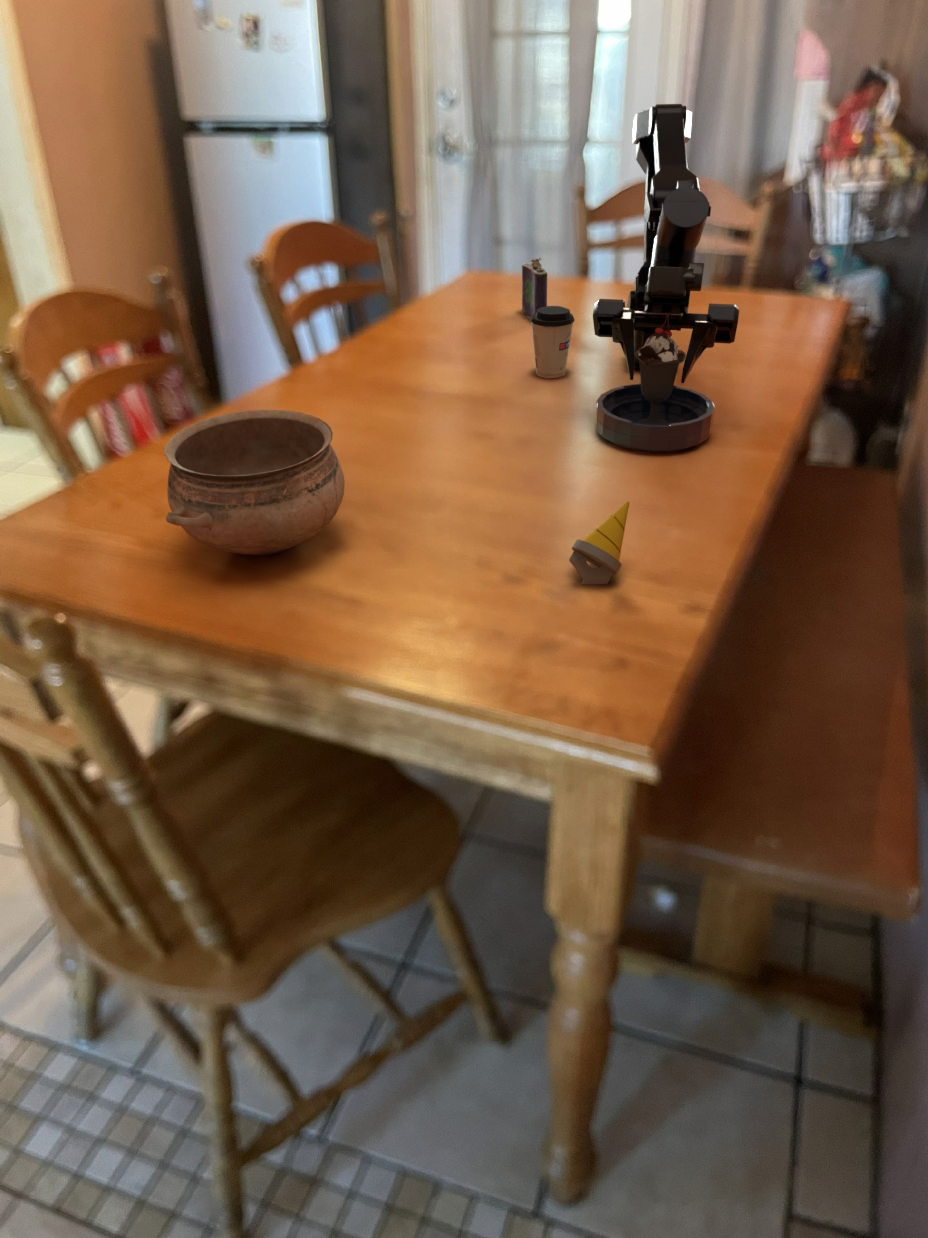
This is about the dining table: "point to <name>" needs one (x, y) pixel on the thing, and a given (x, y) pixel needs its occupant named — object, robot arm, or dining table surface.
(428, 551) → the dining table surface
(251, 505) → the cooking pot
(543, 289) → the flask
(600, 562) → the drill bit
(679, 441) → the bowl
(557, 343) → the coffee cup
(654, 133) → the robot arm
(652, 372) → the sundae
